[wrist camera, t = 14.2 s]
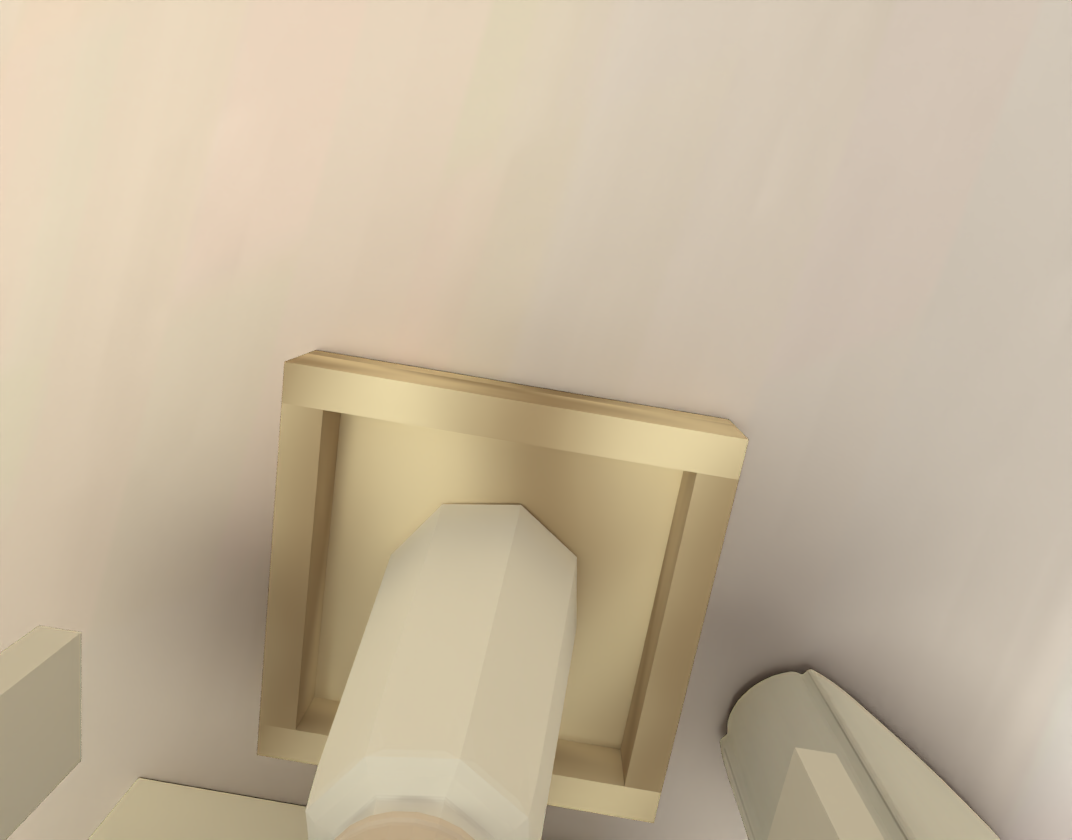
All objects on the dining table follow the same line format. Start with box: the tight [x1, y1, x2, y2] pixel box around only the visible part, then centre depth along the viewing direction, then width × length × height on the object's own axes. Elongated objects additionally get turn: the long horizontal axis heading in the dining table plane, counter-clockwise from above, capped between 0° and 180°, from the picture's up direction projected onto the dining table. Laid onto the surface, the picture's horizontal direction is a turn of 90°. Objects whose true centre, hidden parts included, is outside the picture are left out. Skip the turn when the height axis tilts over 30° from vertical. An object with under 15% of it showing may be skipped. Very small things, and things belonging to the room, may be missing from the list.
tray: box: [257, 350, 749, 823], centre depth 18 cm, size 11×11×2 cm
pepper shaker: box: [305, 504, 577, 840], centre depth 13 cm, size 5×5×11 cm
